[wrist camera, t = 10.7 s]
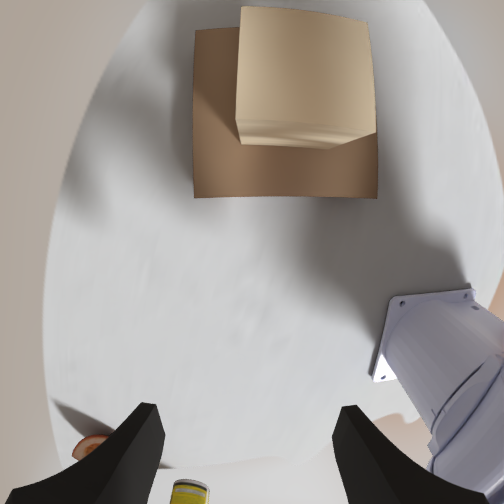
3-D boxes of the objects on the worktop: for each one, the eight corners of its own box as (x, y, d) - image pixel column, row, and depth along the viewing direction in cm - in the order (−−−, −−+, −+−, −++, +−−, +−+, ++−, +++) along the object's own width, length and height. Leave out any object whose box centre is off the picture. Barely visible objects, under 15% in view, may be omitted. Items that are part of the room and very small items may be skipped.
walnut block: (351, 55, 15) (367, 38, 12) (358, 194, 17) (377, 198, 14) (203, 50, 15) (195, 30, 12) (203, 194, 17) (194, 198, 14)
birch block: (327, 73, 13) (367, 22, 7) (327, 149, 14) (375, 132, 8) (244, 66, 12) (241, 6, 7) (241, 144, 14) (235, 119, 8)
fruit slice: (157, 451, 24) (147, 485, 19) (140, 468, 25) (131, 497, 20) (90, 415, 22) (73, 446, 18) (82, 437, 24) (68, 464, 19)
